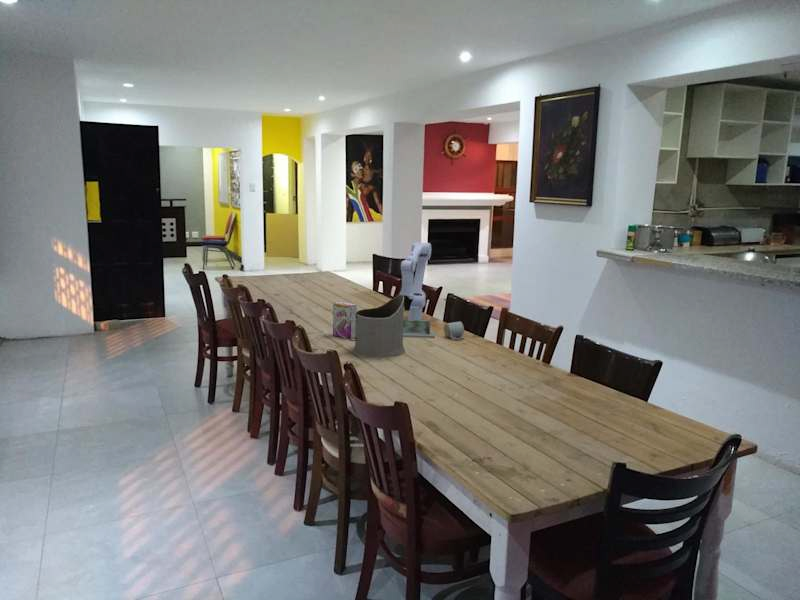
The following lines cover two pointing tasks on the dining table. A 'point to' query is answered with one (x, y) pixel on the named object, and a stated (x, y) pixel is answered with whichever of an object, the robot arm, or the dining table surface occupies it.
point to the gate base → (420, 333)
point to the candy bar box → (344, 320)
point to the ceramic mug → (454, 330)
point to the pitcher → (379, 330)
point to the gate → (415, 325)
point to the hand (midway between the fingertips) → (406, 310)
